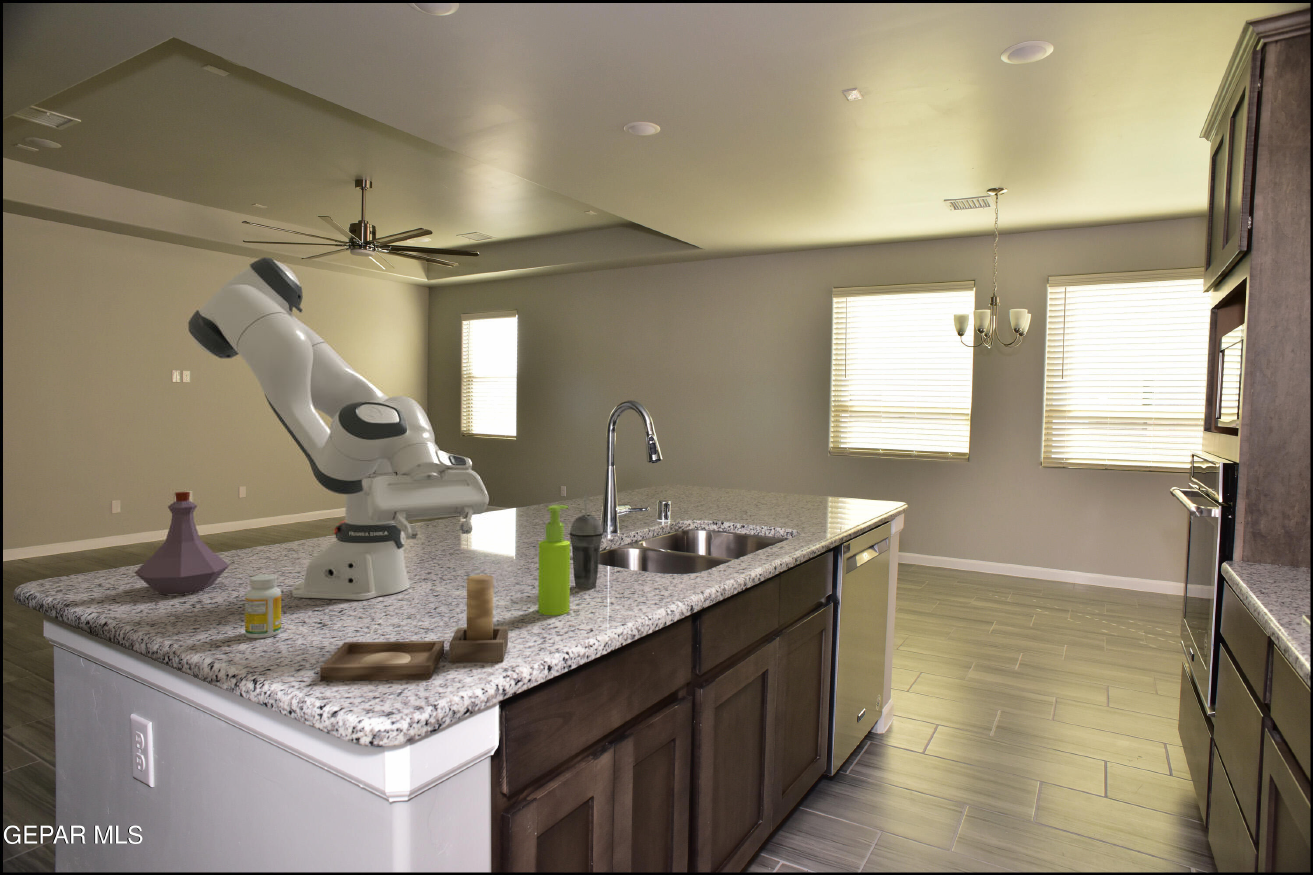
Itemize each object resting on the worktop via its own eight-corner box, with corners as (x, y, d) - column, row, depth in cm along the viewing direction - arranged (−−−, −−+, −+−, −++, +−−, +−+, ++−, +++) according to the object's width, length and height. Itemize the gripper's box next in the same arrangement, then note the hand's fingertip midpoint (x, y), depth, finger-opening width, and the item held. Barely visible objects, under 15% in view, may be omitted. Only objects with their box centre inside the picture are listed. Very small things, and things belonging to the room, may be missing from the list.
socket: (449, 662, 112) (449, 643, 112) (457, 645, 120) (457, 627, 120) (503, 661, 113) (503, 642, 113) (508, 644, 121) (508, 626, 120)
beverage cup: (605, 583, 163) (606, 492, 162) (599, 591, 156) (600, 496, 155) (572, 582, 164) (573, 491, 163) (565, 590, 156) (566, 495, 156)
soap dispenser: (576, 607, 144) (578, 504, 143) (560, 616, 137) (562, 508, 136) (549, 604, 145) (550, 502, 145) (532, 613, 139) (533, 507, 138)
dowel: (464, 658, 114) (465, 580, 113) (468, 649, 118) (468, 574, 117) (491, 657, 114) (491, 580, 114) (494, 649, 118) (494, 574, 118)
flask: (186, 577, 162) (186, 486, 161) (248, 583, 158) (247, 490, 157) (113, 595, 146) (112, 494, 145) (179, 603, 142) (178, 499, 141)
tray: (320, 681, 104) (320, 667, 103) (344, 654, 114) (344, 642, 114) (430, 678, 105) (430, 665, 105) (444, 653, 116) (444, 640, 116)
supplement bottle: (253, 641, 120) (252, 582, 120) (239, 634, 124) (239, 577, 123) (287, 633, 125) (286, 577, 124) (273, 627, 128) (273, 571, 128)
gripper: (362, 462, 124) (381, 528, 116) (478, 458, 136) (501, 518, 128) (355, 486, 127) (372, 552, 120) (468, 480, 140) (490, 539, 132)
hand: (440, 534), depth 124 cm, fingers open, 8 cm apart
